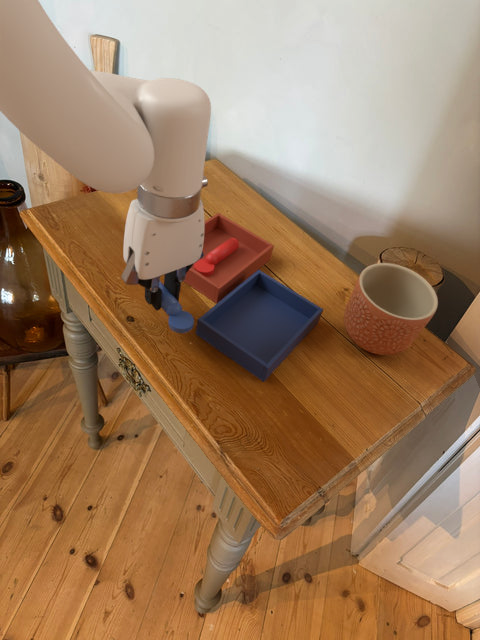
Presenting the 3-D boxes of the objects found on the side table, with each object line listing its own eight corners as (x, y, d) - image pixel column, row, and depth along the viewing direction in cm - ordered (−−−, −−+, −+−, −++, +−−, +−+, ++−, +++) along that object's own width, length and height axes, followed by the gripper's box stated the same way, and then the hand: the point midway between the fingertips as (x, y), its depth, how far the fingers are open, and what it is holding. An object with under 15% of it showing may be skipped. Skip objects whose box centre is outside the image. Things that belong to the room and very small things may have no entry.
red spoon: (227, 242, 88) (229, 232, 86) (242, 251, 87) (244, 241, 85) (189, 269, 81) (190, 258, 79) (205, 279, 80) (206, 269, 78)
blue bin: (195, 334, 72) (197, 319, 70) (255, 283, 82) (258, 269, 79) (263, 382, 68) (268, 368, 65) (317, 323, 78) (323, 309, 75)
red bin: (158, 265, 81) (159, 249, 79) (216, 227, 91) (218, 212, 89) (216, 303, 77) (219, 288, 75) (270, 259, 87) (274, 245, 84)
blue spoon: (137, 288, 70) (137, 276, 68) (157, 280, 72) (158, 269, 70) (177, 337, 65) (178, 325, 63) (198, 327, 67) (200, 316, 65)
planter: (374, 377, 72) (403, 332, 64) (321, 324, 78) (342, 276, 70) (423, 346, 78) (455, 302, 70) (370, 299, 84) (394, 253, 76)
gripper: (205, 165, 61) (192, 268, 74) (91, 192, 53) (100, 303, 66) (240, 195, 58) (220, 298, 71) (124, 229, 49) (125, 338, 63)
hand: (162, 299), depth 69 cm, fingers closed on blue spoon, 2 cm apart
